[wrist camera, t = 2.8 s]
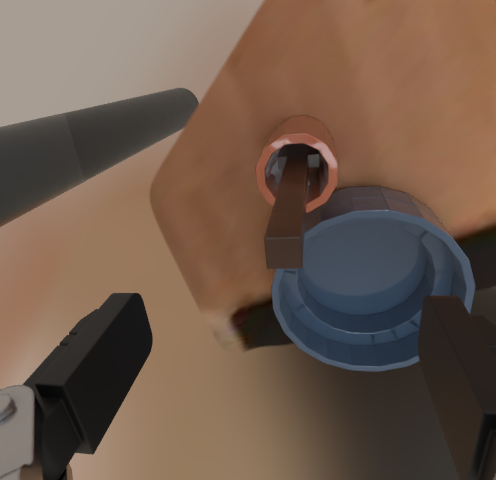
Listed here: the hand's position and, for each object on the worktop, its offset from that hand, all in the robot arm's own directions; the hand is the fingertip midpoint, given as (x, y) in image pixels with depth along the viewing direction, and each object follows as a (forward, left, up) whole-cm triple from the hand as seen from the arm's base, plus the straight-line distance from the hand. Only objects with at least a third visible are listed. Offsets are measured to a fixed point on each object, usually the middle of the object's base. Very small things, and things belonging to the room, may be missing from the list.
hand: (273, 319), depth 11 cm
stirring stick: (0, 0, -22) cm, 22 cm away
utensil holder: (0, 0, -23) cm, 23 cm away
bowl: (+5, -11, -23) cm, 26 cm away
